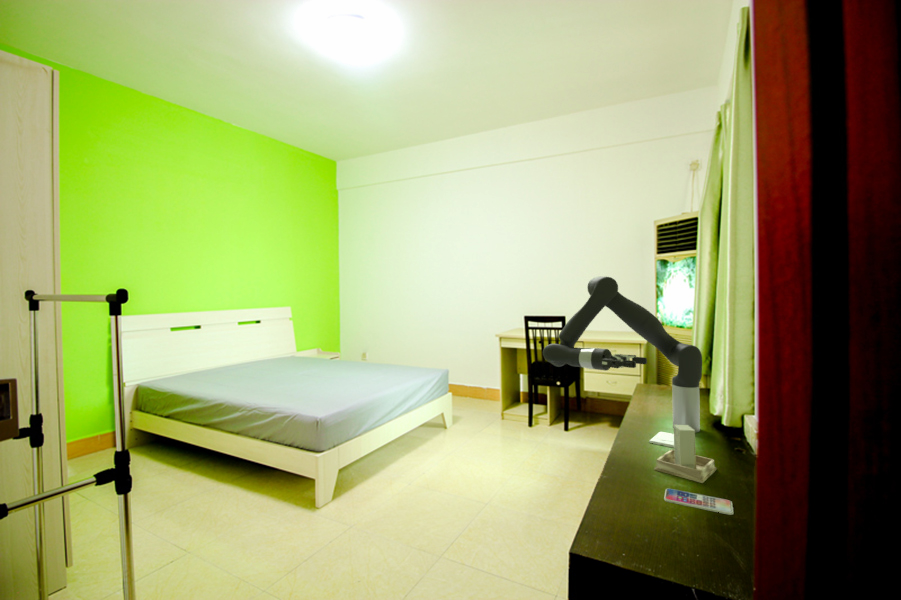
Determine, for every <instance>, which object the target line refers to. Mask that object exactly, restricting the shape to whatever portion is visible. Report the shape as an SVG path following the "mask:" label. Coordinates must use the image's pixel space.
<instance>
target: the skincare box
mask: <svg viewBox="0 0 901 600" xmlns="http://www.w3.org/2000/svg"><path fill="white" fill-rule="evenodd" d="M672 429H673V434H674V448H673V450H674V453H675V464H677V465H681V466H684V467H688V468H692V469H696V451H697V449H696V433H695V430H694V429H693V428H691V427H690V426H689V425H673V424H672Z"/></svg>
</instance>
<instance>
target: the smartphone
mask: <svg viewBox="0 0 901 600" xmlns="http://www.w3.org/2000/svg"><path fill="white" fill-rule="evenodd" d="M663 500H664V501H665V502H666V503H671V504H677V505H680V506H685V507H690V508H691V507H692V508H694V509H699V510H700V509H701V510H705V511H710V512H715V513H718V512H719V514H724V515H729V516H732V515H735V514H734V507H733V506H734V505H733V501H731V500H729V499H725V498H722V497H721V498H720V497H716V496H709V495H705V494H701V493H694V492H689V491H684V490H679V489H673V488H666V489H665V490H664V497H663Z"/></svg>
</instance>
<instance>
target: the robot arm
mask: <svg viewBox="0 0 901 600" xmlns="http://www.w3.org/2000/svg"><path fill="white" fill-rule="evenodd" d="M587 292H588V294H589V297H588V299H587V301H586V302H585V303H584V305H582V307H581V308H580V309H578V311H577V312H575V313H574V314H573V315H572V316H571V318H570V319H569V320H568V321H567V323H565V325H564V327H563V328H562V329H561V331H560V332H559V334H558V339H559V341H560V343H550V344H547V345H545V347H544V348H543V350H542V357H543V358H544V359H545V361H547V362H548V363H550V364H551V365H553V366H554V367H558V368H559V367H563V366H565V365H569V366H571V367H574V368H576V367H578V368H584V369H589V370H598V371H608V370H610V369H611V368H613V369H619V368H623V369H624V368H630V369H635V368H637V365H647V364H648V358H647V357H643V356H637V355H636V354H622V353H615V354H612V351H610V350H609V349H608V348H598V347H597V348H595V347H583V348H582V347H575V345H576V343H578V341H579V340H580V338H581V337H582V336H583V334H584V333H585V331H586V329H587V328H588V327H589V326H590V324H591V323H592V322H593V321H594V319H595V318H596V316H597V315H598V314H599V313H600V312H601V311H602V310H603V309H604V308H605V307H606V308H607V309H609V310H610V311H611V312H613V313H614V314H615V315H616V316H617V317H618V318H619V319H620V320H621V321H623V323H625V324H626V325H627V326H628V327H629V328H630V329H632V331H634V332H635V333H636V334H637V335H638V336H640V337H641V338H642V339H644V340H645V341H647V342H648V343H649V344H651V345H652V346H654V347H655V348H656V349H657V350H658V351H660V353H661V354H662V355H663V356H664V357H665V358H666V359H667V360H668V361H669V362H670V363H671V364H672V365H675V366H676V367H677V369H678V370H677V374H676V375H675V376H673V377H672V379H671V384H672V385H671V388H672V390H671V393H672V426H673V425H689V426H690V427H691V428H693V429H694V430H695V434H696V433H699V432H700V431H701V424H700V422H701V418H700V417H701V416H700V413H701V410H700V409H701V408H700V404H701V403H700V402H701V401H700V382H701V380H702V376H703V375H702V374H703V355H702V352H701V350H700V349H699V347H697V346H696V345H693V344H687V343H683V342H680V341H679V340H678V339H676V338H675V337H673V336H672V335H670V334H669V333H668V332H667V331H666V329H665V327H664V326H663V324H662V322H661V321H660V319H658V317H656V316H655V315H654V314H653V313H651V312H650V311H649V310H648V309H646V308H645V307H644V306H643V305H640V304H639V303H636V302H635V301H633V300H631V299H629V298H627V297H626V296H624V295H623V294H621V293H620V292H619V285H618V282H617V281H616V279H614V278H613V277H610V276H596V277H595V276H594V277H593V278H592V279H590V280H589V281H588V284H587ZM630 359H631V360H630Z"/></svg>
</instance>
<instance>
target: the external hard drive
mask: <svg viewBox="0 0 901 600" xmlns="http://www.w3.org/2000/svg"><path fill="white" fill-rule="evenodd" d="M648 443H649V444H652V443H653V444H652V445H660V446H663V447H668V448H672V449H674V433H671V432H665V431H659V432H657V433H656V434H655V435H654V436H653V437H652V438H650V439H649V441H648Z"/></svg>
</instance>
